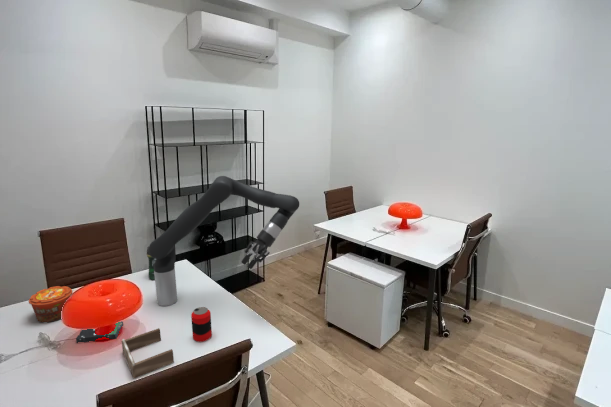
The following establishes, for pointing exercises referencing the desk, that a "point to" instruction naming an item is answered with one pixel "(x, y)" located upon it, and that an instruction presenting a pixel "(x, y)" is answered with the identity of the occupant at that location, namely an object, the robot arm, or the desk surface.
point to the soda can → (201, 324)
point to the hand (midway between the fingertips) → (246, 265)
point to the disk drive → (91, 336)
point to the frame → (149, 363)
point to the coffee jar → (151, 265)
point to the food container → (50, 303)
